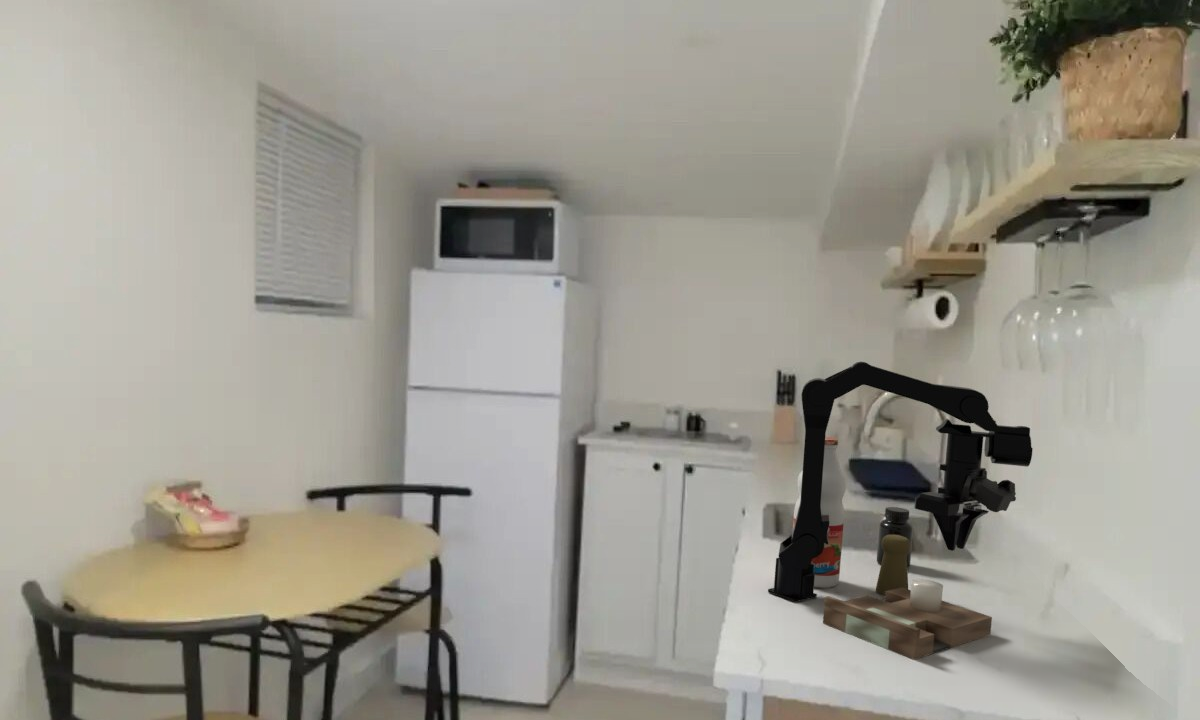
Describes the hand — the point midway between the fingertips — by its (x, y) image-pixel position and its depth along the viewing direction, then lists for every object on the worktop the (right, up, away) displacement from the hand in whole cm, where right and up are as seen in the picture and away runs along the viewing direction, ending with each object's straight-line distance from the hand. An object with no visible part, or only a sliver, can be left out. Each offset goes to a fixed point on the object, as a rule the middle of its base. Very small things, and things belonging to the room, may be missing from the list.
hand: (955, 549), depth 150 cm
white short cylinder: (-7, -9, -4) cm, 12 cm away
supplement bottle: (0, -11, +33) cm, 34 cm away
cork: (-7, -11, +12) cm, 18 cm away
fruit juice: (-21, -10, +17) cm, 28 cm away
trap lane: (-11, -12, -7) cm, 18 cm away
